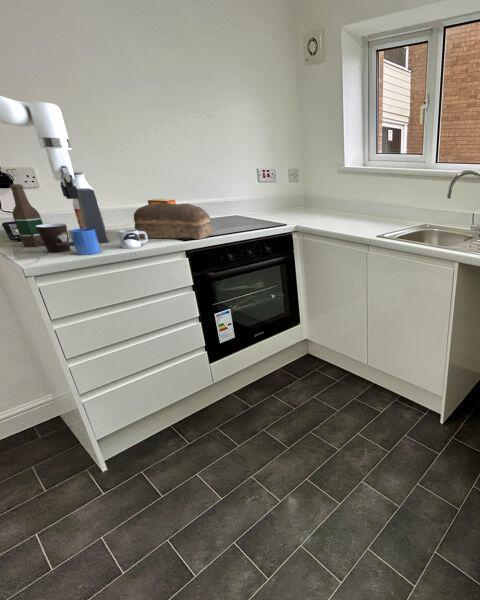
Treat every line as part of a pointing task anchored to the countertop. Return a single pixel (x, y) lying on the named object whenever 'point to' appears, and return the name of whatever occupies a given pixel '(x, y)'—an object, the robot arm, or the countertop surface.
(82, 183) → the fruit juice
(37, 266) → the countertop surface
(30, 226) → the beer bottle
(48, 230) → the coffee mug
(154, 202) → the baking soda box
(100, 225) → the dark grey upright panel
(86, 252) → the blue cup
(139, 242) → the mug
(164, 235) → the bread
